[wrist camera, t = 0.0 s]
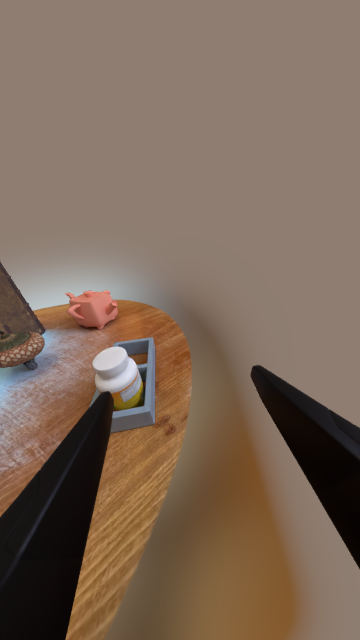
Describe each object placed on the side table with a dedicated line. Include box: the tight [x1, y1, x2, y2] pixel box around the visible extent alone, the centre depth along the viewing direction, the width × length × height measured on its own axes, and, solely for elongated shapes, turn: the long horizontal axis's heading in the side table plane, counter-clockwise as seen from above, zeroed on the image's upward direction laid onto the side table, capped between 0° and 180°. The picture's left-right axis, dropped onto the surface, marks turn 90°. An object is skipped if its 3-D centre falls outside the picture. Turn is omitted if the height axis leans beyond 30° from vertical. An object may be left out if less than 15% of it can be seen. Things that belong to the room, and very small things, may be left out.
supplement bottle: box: [93, 347, 145, 412], centre depth 20 cm, size 5×5×10 cm
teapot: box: [66, 290, 118, 329], centre depth 43 cm, size 14×12×10 cm
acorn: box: [0, 330, 45, 370], centre depth 28 cm, size 8×8×10 cm
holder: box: [90, 337, 155, 433], centre depth 25 cm, size 15×8×4 cm, turn 8°
